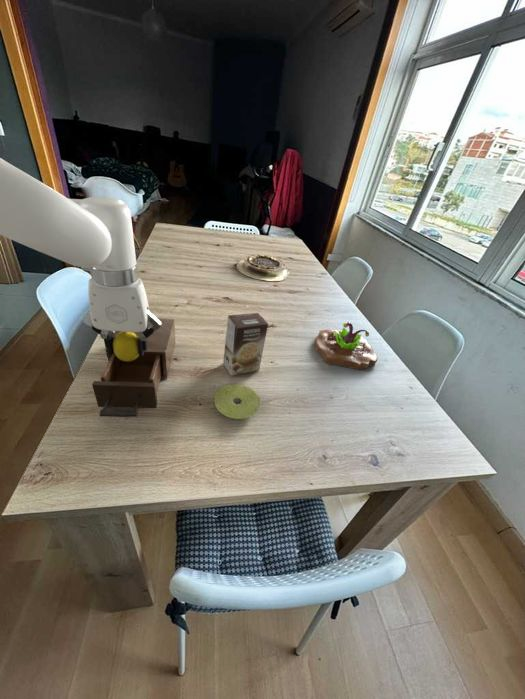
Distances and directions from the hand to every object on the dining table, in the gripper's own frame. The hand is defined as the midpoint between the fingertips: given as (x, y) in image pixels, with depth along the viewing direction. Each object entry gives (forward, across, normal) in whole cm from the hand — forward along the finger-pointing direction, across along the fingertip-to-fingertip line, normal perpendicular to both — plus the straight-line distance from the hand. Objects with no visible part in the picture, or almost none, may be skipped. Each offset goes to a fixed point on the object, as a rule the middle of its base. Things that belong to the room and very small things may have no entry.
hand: (127, 350), depth 64 cm
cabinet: (+13, 0, +13) cm, 18 cm away
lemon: (+3, 0, 0) cm, 3 cm away
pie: (+13, +41, +89) cm, 99 cm away
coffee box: (+13, +27, +12) cm, 32 cm away
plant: (+13, +62, +22) cm, 67 cm away
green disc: (+13, +25, -4) cm, 28 cm away
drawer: (+12, 0, -1) cm, 12 cm away
